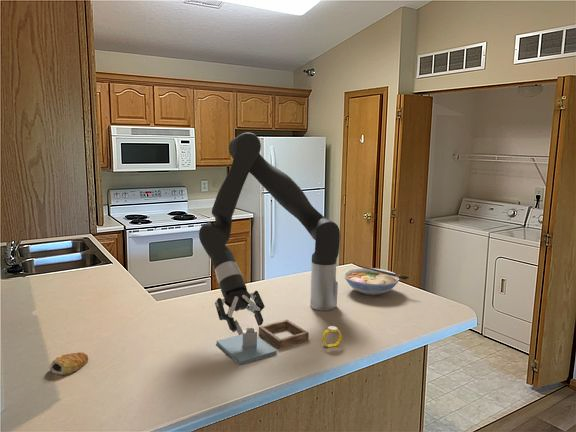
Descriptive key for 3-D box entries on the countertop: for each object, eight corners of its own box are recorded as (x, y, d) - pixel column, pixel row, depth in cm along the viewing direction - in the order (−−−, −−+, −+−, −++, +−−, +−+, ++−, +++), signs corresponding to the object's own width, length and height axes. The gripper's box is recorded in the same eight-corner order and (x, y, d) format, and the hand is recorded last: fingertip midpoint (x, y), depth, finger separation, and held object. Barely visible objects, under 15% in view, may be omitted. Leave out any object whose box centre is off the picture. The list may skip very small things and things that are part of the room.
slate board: (251, 334, 139) (251, 331, 139) (276, 353, 127) (276, 350, 127) (216, 343, 132) (216, 340, 132) (239, 364, 120) (239, 361, 120)
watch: (338, 343, 135) (340, 325, 134) (342, 347, 132) (344, 329, 131) (320, 344, 133) (322, 326, 132) (323, 348, 130) (325, 329, 130)
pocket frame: (287, 326, 146) (287, 319, 146) (308, 339, 136) (308, 332, 136) (258, 333, 140) (258, 326, 140) (279, 348, 130) (279, 340, 130)
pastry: (77, 357, 123) (77, 344, 123) (95, 362, 121) (94, 349, 120) (47, 372, 115) (46, 358, 114) (65, 378, 112) (64, 364, 112)
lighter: (256, 343, 131) (256, 318, 130) (257, 345, 130) (257, 320, 128) (232, 345, 129) (232, 319, 128) (233, 348, 128) (233, 322, 127)
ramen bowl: (329, 290, 183) (330, 271, 182) (363, 279, 198) (364, 262, 197) (378, 307, 165) (379, 286, 163) (412, 294, 180) (413, 275, 178)
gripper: (212, 277, 128) (230, 327, 121) (254, 269, 136) (273, 317, 129) (205, 289, 133) (222, 338, 126) (246, 281, 141) (264, 327, 134)
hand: (248, 327), depth 127 cm, fingers open, 8 cm apart
